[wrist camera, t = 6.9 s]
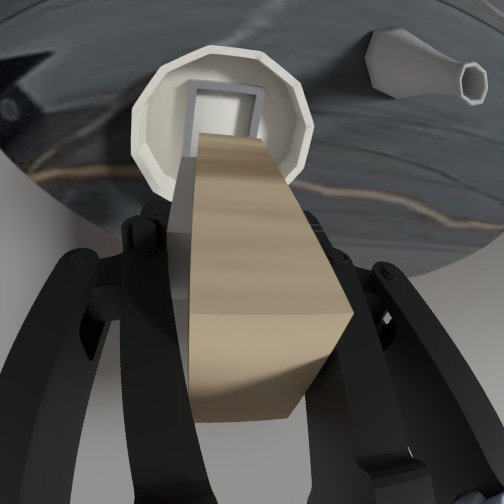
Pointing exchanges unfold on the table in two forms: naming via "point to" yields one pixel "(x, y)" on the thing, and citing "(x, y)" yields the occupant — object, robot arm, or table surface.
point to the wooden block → (254, 288)
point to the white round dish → (218, 112)
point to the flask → (420, 69)
